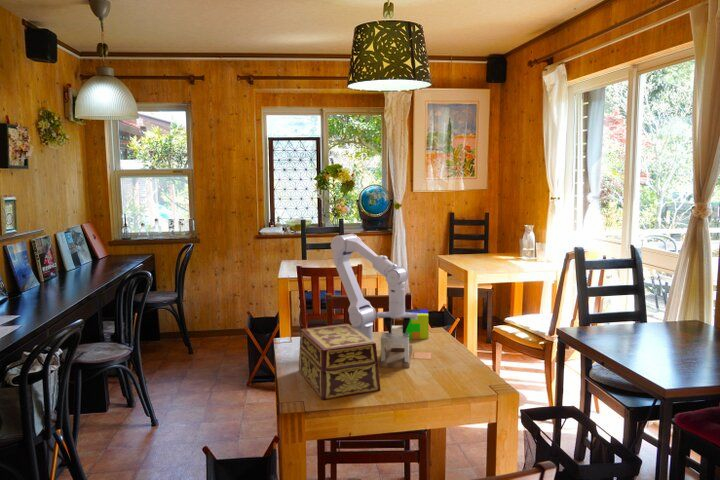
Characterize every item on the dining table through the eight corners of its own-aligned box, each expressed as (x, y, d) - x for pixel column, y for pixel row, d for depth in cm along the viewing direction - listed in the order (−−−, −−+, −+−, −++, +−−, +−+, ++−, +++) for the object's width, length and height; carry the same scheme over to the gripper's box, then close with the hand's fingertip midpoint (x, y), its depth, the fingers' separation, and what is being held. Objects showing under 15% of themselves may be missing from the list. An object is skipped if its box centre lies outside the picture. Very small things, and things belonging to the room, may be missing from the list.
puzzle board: (379, 368, 188) (379, 362, 188) (385, 349, 208) (385, 344, 208) (409, 369, 187) (409, 363, 187) (412, 350, 207) (412, 345, 206)
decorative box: (298, 371, 188) (296, 328, 186) (349, 363, 194) (349, 321, 193) (322, 401, 162) (321, 351, 161) (381, 391, 169) (380, 343, 167)
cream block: (391, 347, 199) (391, 328, 199) (392, 344, 203) (392, 325, 203) (402, 347, 199) (402, 328, 198) (403, 344, 203) (403, 325, 202)
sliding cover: (381, 361, 189) (380, 337, 188) (382, 355, 195) (382, 332, 194) (408, 362, 188) (408, 338, 187) (409, 356, 193) (409, 333, 193)
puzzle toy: (427, 333, 230) (427, 309, 229) (428, 340, 220) (428, 315, 219) (403, 332, 231) (403, 309, 230) (403, 339, 221) (402, 315, 220)
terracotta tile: (413, 360, 196) (413, 358, 196) (414, 353, 203) (414, 352, 203) (430, 360, 195) (430, 358, 195) (431, 354, 202) (431, 352, 202)
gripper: (375, 303, 196) (376, 340, 198) (416, 304, 194) (416, 341, 196) (377, 299, 203) (378, 335, 205) (417, 299, 201) (417, 336, 203)
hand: (397, 338), depth 201 cm, fingers closed on cream block, 4 cm apart
